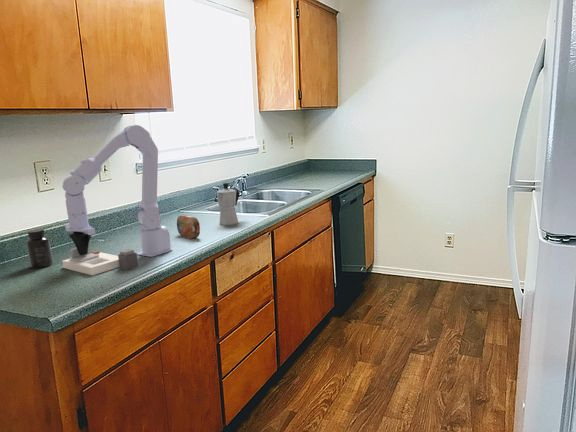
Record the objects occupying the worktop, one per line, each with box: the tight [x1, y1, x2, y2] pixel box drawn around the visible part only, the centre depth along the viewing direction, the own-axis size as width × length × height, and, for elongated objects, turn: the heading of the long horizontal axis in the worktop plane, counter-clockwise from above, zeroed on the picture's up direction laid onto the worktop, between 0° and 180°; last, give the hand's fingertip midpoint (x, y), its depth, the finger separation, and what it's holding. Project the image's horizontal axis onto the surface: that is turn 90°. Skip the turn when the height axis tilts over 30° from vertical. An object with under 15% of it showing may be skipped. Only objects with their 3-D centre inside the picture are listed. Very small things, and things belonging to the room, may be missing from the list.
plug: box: [117, 248, 139, 271], centre depth 147 cm, size 4×4×6 cm
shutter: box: [68, 245, 99, 262], centre depth 151 cm, size 7×7×3 cm
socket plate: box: [62, 250, 120, 276], centre depth 150 cm, size 12×17×3 cm
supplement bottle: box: [25, 228, 54, 269], centre depth 154 cm, size 7×7×12 cm
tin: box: [176, 215, 201, 240], centre depth 184 cm, size 15×3×8 cm, turn 40°
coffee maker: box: [215, 182, 240, 227], centre depth 204 cm, size 15×9×18 cm, turn 148°
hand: (83, 254), depth 151 cm, fingers closed
